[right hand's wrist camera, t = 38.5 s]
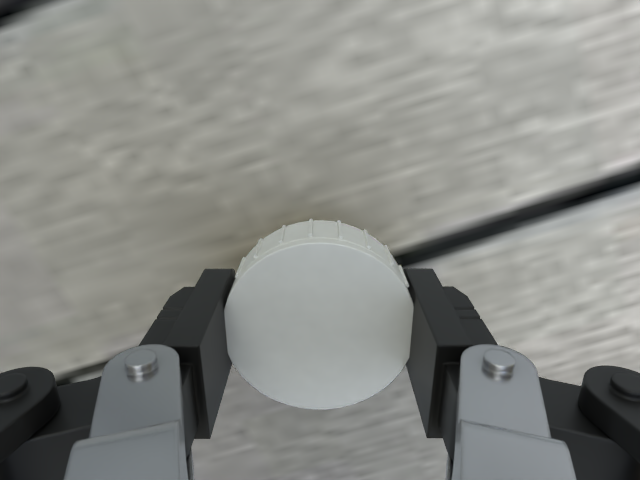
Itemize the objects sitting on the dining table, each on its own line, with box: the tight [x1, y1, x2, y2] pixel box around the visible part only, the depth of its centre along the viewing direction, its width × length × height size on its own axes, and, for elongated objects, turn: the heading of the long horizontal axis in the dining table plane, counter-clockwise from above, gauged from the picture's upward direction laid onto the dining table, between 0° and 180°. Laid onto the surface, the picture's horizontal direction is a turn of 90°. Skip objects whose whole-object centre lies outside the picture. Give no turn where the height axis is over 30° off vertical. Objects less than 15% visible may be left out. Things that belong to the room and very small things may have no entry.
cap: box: [224, 219, 414, 410], centre depth 11 cm, size 5×5×2 cm
